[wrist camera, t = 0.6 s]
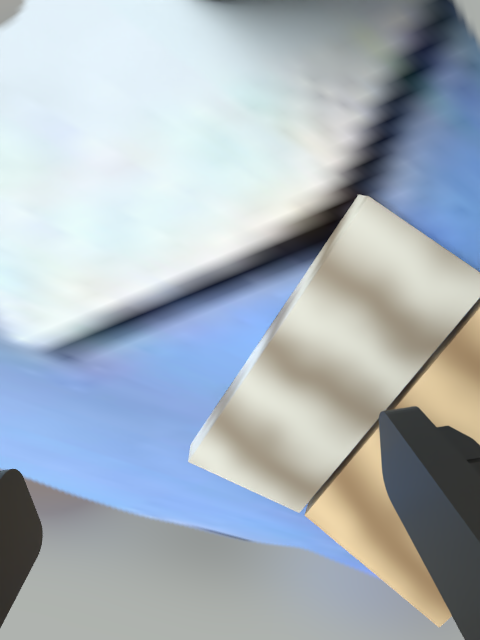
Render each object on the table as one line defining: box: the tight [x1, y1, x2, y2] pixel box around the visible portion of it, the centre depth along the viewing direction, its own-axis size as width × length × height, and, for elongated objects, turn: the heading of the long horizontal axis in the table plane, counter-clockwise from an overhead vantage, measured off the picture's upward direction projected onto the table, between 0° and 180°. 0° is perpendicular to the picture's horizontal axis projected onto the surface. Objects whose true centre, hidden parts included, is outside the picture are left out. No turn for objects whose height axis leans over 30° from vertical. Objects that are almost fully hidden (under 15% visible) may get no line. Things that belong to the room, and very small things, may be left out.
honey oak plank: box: [305, 298, 480, 627], centre depth 28 cm, size 22×12×2 cm, turn 149°
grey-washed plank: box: [188, 195, 480, 513], centre depth 29 cm, size 22×10×2 cm, turn 149°
